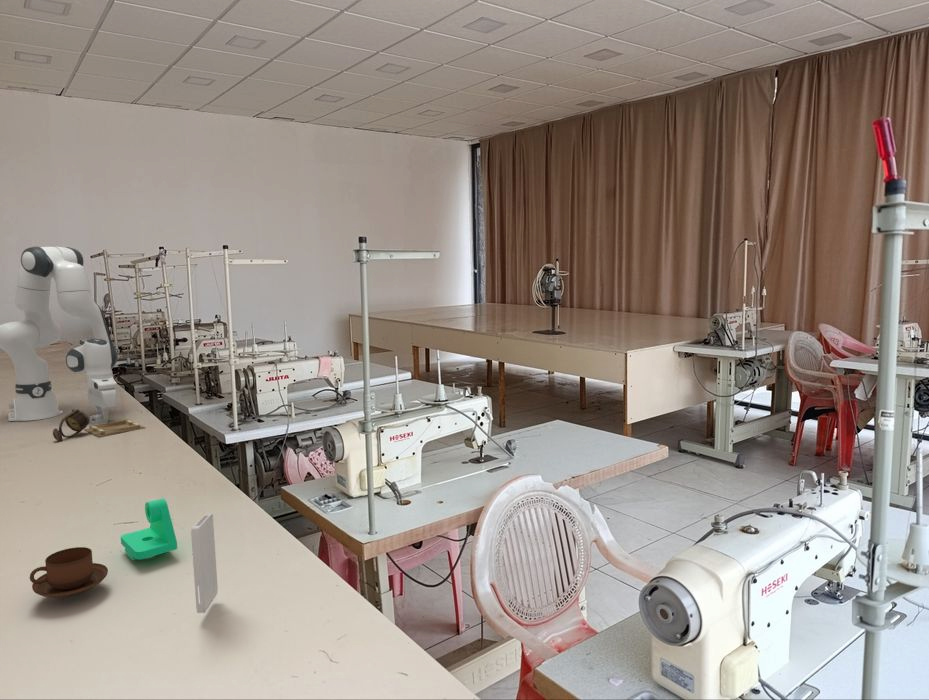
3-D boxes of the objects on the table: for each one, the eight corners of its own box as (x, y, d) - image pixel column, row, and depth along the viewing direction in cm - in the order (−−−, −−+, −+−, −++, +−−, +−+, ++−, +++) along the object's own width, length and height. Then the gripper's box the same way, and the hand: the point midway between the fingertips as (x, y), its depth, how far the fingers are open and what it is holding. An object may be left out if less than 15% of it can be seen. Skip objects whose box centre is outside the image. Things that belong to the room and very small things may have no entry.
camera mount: (120, 547, 139) (116, 500, 137) (158, 537, 144) (154, 491, 142) (138, 565, 130) (134, 515, 128) (177, 553, 135) (174, 505, 134)
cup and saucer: (54, 610, 113) (51, 576, 112) (19, 593, 119) (16, 560, 118) (122, 581, 123) (119, 550, 122) (86, 567, 129) (83, 537, 128)
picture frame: (84, 432, 240) (84, 426, 240) (130, 424, 251) (130, 418, 251) (98, 438, 230) (98, 432, 229) (146, 430, 241) (145, 424, 241)
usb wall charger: (90, 426, 249) (89, 415, 249) (107, 422, 255) (106, 412, 255) (97, 426, 247) (96, 416, 247) (114, 422, 254) (113, 412, 253)
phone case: (210, 593, 118) (205, 512, 116) (218, 592, 118) (213, 512, 116) (196, 614, 111) (190, 529, 109) (204, 614, 111) (198, 528, 109)
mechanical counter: (95, 433, 237) (93, 406, 236) (71, 443, 224) (68, 414, 223) (76, 433, 238) (74, 406, 236) (51, 443, 225) (48, 414, 224)
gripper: (82, 379, 254) (84, 414, 256) (100, 386, 240) (102, 423, 242) (99, 377, 259) (102, 412, 261) (118, 383, 245) (121, 420, 246)
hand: (102, 417), depth 251 cm, fingers closed on usb wall charger, 4 cm apart
